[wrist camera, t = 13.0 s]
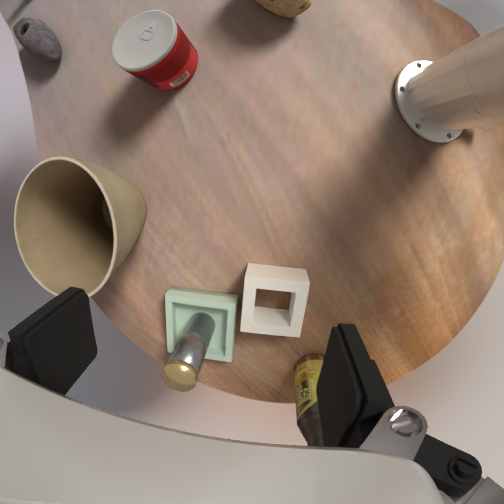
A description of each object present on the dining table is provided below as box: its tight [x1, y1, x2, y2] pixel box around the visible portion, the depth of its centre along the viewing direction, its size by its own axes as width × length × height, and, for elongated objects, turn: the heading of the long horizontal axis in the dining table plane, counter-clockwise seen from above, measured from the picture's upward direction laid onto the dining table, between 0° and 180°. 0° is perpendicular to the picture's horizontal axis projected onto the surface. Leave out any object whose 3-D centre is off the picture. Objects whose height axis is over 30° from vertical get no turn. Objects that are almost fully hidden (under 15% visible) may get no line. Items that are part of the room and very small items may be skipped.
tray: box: [165, 287, 238, 362], centre depth 43 cm, size 10×10×3 cm
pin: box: [162, 312, 215, 391], centre depth 37 cm, size 4×4×13 cm
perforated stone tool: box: [13, 18, 62, 61], centre depth 29 cm, size 15×5×7 cm, turn 41°
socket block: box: [240, 263, 310, 337], centre depth 40 cm, size 8×8×5 cm
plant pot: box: [14, 157, 147, 297], centre depth 32 cm, size 15×15×16 cm
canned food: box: [112, 10, 198, 90], centre depth 29 cm, size 8×8×11 cm
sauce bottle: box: [294, 354, 324, 447], centre depth 36 cm, size 7×6×20 cm
